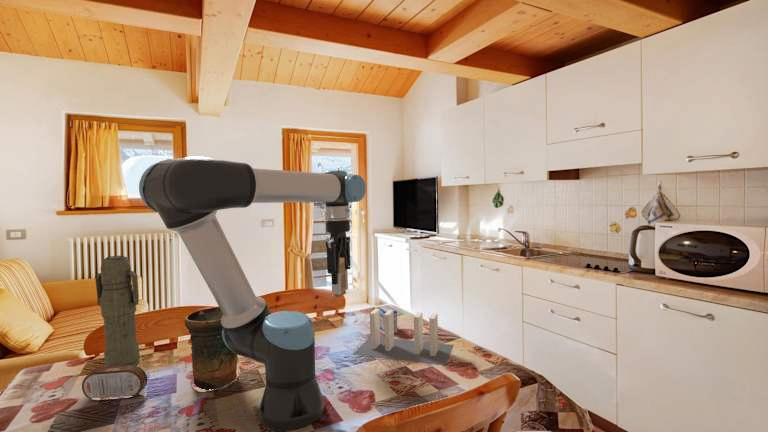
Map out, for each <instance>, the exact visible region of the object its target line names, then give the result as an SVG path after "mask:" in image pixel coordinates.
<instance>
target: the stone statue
mask: <svg viewBox="0 0 768 432" xmlns="http://www.w3.org/2000/svg"><path fill="white" fill-rule="evenodd" d="M131 267H132V265H131V262H130V261H129V258H128V257H127V256H125V255H114V256H113V255H112V256H107V257H105V258H103V259H102V262H101V265H100V272H99V273H97V274H96V276H95V287H96V288H95V289H96V294H97V295H96V296H97V305H98V306H99V307H100V313H101V317H102V318H103V326H104V340H105V348H104V351H103V355H104V365H105V366H104V367H113V366H127V365H134V366H137V365H138V364H139V363H140V357H141V356H140V345H139V342H138V340H137V330H136V328H137V327H136V315H135V313H136V311H137V305H139V297H140V296H139V295H140V294H139V282H138V274H137V272H135V271H133V270H132V268H131Z"/></svg>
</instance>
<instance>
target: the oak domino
mask: <svg viewBox="0 0 768 432" xmlns="http://www.w3.org/2000/svg"><path fill="white" fill-rule="evenodd" d="M339 273H340V283H341V294H334V298H339V299H340V298H341V297H342V296H344V295H346V294H347V291H346V284H345V259H344V257H340V261H339Z"/></svg>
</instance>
